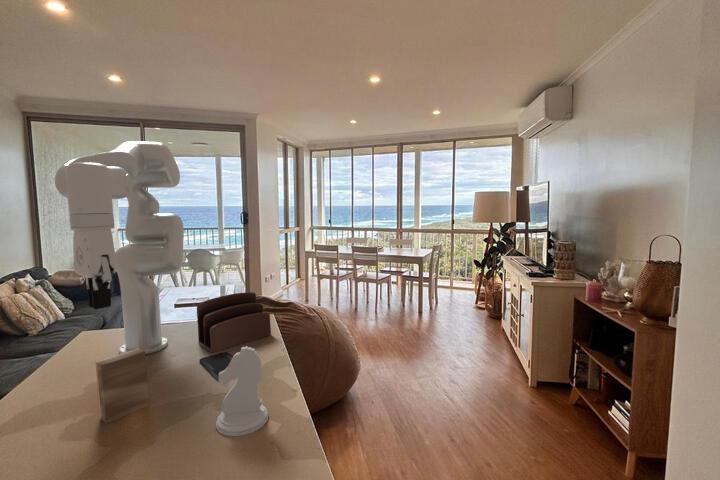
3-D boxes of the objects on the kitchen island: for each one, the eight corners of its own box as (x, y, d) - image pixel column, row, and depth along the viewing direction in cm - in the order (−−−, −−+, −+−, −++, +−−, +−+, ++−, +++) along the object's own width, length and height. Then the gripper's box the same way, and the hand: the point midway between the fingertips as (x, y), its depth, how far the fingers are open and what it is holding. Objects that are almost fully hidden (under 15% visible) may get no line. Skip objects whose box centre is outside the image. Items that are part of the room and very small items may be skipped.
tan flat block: (100, 418, 72) (95, 361, 71) (142, 400, 79) (138, 348, 78) (106, 423, 70) (101, 365, 69) (149, 405, 77) (145, 351, 76)
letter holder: (198, 344, 111) (195, 300, 109) (256, 328, 125) (254, 289, 123) (211, 353, 104) (208, 306, 102) (271, 335, 118) (270, 293, 116)
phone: (226, 351, 103) (248, 368, 92) (226, 355, 103) (248, 372, 92) (197, 359, 98) (217, 378, 87) (198, 363, 98) (217, 382, 87)
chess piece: (222, 409, 75) (218, 340, 74) (270, 404, 77) (267, 336, 75) (210, 439, 65) (205, 360, 64) (265, 433, 67) (262, 356, 65)
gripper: (58, 222, 77) (66, 305, 79) (85, 224, 68) (93, 317, 70) (98, 221, 84) (105, 298, 85) (128, 222, 74) (135, 308, 76)
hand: (100, 306), depth 78 cm, fingers closed
